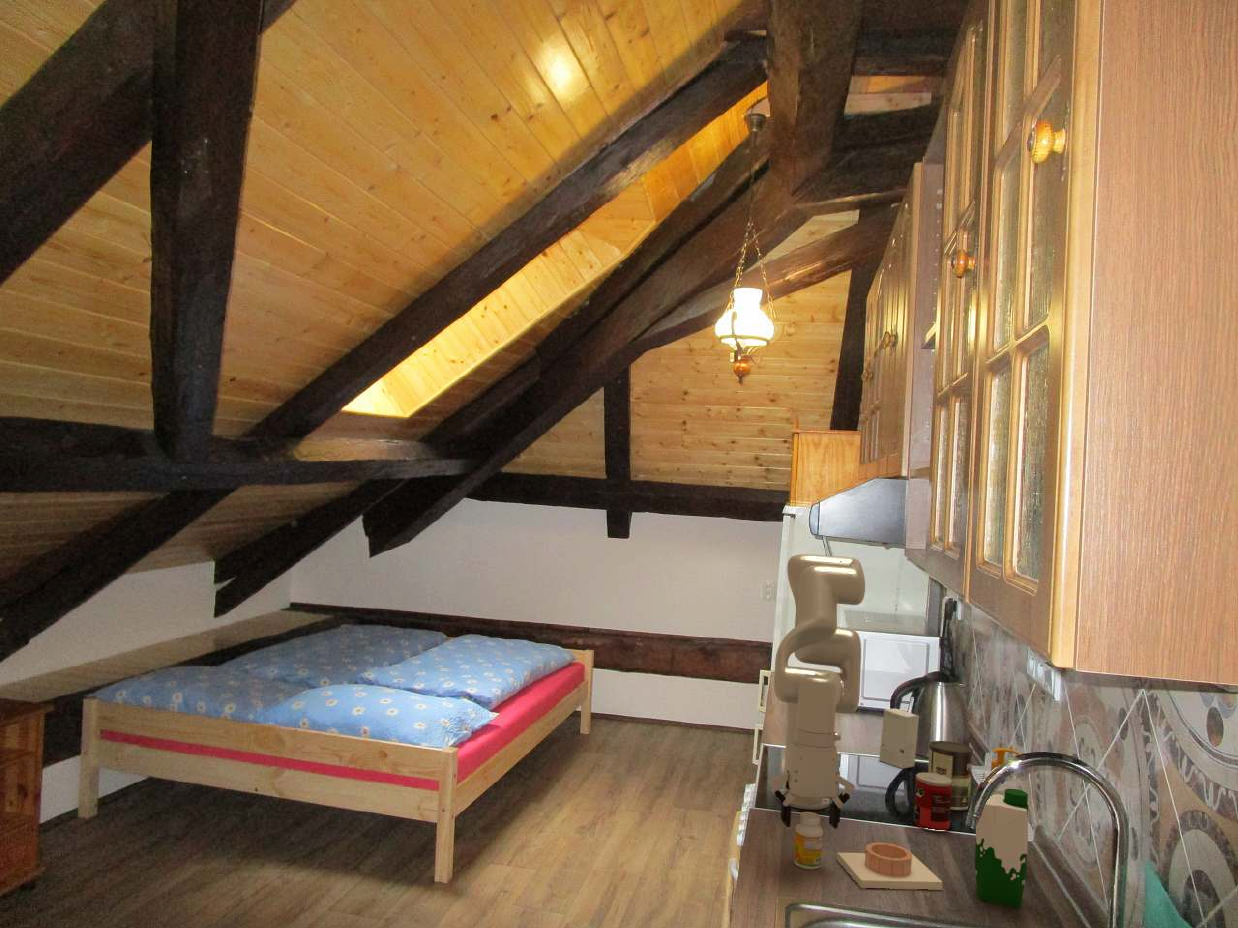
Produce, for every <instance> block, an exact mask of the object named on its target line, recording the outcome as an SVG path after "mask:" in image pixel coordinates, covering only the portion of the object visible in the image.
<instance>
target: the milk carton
mask: <svg viewBox="0 0 1238 928" xmlns="http://www.w3.org/2000/svg"><path fill="white" fill-rule="evenodd" d="M1028 798H1029V794H1028V793H1027V792H1026V791H1023V790H1020V789H1018V788H1017V789H1005V794H1004V796H1003V795H1000V794H996V795H994V794H993V795H992V796H990V798H989V799H988V800H987V802H986V804H985V806H984V809H983V812H982V815H981V817H980V819H979V821H978V823H977V822H976V823H977V825H976V824H975V825H976V826H975V842H974V843H975V844H974V845H975V846H974V873H975V874H974V875H975V881H976V888H977V896H978V900H979V901H984V902H988V903H993V904H997V905H1001V906H1006V907H1011V908H1015V909H1016V908H1017V909H1021V905H1022V900H1023V896H1024V892H1025V891H1024V890H1025V884H1026V878H1027V870H1028V869H1027V868H1028V849H1029V848H1028V847H1029V824H1028V823H1029V822H1028V821H1029V819H1028V818H1029V815H1028V814H1029V804H1028V800H1029V799H1028Z"/></svg>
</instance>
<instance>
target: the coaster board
mask: <svg viewBox="0 0 1238 928" xmlns="http://www.w3.org/2000/svg"><path fill="white" fill-rule="evenodd" d="M865 853H866V852H836V861H837V863H838V864H839V865H840V866H841V867H842V866H843V867H844V868H845V869H846V870H847V871H846V870H845V869H844V868H843V867H842V868H843V869H844V870H845V871H846V872H847V874H848V873H849V874H850V875H851V876H852V877H851V876H850V875H849V874H848V875H849V876H850V877H851V878H852V880H853V881H854V880H855V881H856V882H857V883H858V884H857V883H856V882H855V881H854V882H855V883H856V884H857V885H858V886H859V885H860V886H861V887H878V888H879V887H880V888H885V889H884V890H917V889H928V891H929V890H930V891H934V890H935V891H942V890H943V881H942V880H941V879H940V878H938V876H937V875H936V874H935V873H934V872H932V871H931V870H930V869H929V868H928V867H927V866H926V865H925V864H924V863H923V862H921V861H920V860H919V858H917V857H916V856H915V855H914V854H913V853H912V870H911V873H910V874H909V875H905V876H889V875H885V874H880V873H878V872H875V871H873V870H871V869H869V868H868V867H867V866H866V865H865ZM860 886H859V887H860ZM886 888H887V889H886ZM888 888H889V889H888ZM913 888H914V889H913Z"/></svg>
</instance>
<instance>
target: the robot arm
mask: <svg viewBox="0 0 1238 928" xmlns="http://www.w3.org/2000/svg"><path fill="white" fill-rule="evenodd" d="M786 567H787V569H786V570H787V571H786V572H787V579H788V583H789V587H790V591H791V592H792V595H793V598H794V604H795V619H794V621H795V622H794V628H793V629H791V631H789V632H788V633H787V635H785V637H784V638H783V639H782V640H781V642H780V644H779V646H778V648H777V651H776V655H775V659H774V660H775V661H774V678H773V688H774V689H773V690H774V691H773V692H774V693H775V694H774V695H775V696H776V698H777V699H778V700H779V701H780V702H783V703H786V714H787V716H786V736H785V755H784V756H785V757H784V772H783V773H782V774H779V775H777V776H775V777H774V778H771V779H769V783H768V784H769V785H770V788H771V791H772V793H773V795H774V796H775V798H776V799H777V800H778V802H780V804H781V805H780V821H782V823H783V825H784V826H785V827H786V828H789V827H791V822H792V808H795V809H801V810H807V811H808V810H810V811H812V810H813V811H815V810H823V809H827V808H828V807H829V814H828V824H829V825H830V826H831V827H832V828H833V829H836V830H837V829H838V827H839V826H838V825H839V823H841V809H842V808H843V807H844V805H845V803H847V802H848V801H849V800H850V798H851V795H852V794H853V792H854V790H855V788H856V786H855V785H854V784H853V783H852V782H850V781H849V780H847V779H846V778H844V777H842V776H841V775H840V768H839V764H840V763H839V757H838V749H837V747H836V741H841V740H842V739H841V738H842V737H841V733H837V732H836V731H835V728H836V727H835V725H836V723H835V722H836V714H844V715H845V714H849V715H850V714H853V713H855V712H856V711H857V709H858V707H859V703H860V693H861V692H860V691H861V669H862V667H861V666H862V665H861V664H862V642H861V641H862V640H861V639H860V635H859V633H858V632H857V631H856V630H855V629H854V628H853V629H852V628H849V627H839V626H838V605H845V606H846V605H847V606H859V605H860V604H861V603H862V602H863V600H864V598H865V592H866V578H865V574H864V570H863V567H862V563H861V562H860V560H859V559H857V558H854V557H848V556H847V557H846V556H834V555H823V554H809V553H804V554H801V553H800V554H796V555H793V556H791V557H790V558H789V559H788V561H787V566H786ZM793 653H794V656H795V659H797V661H799V662H800V663H802V664H807V665H816V666H825V667H833V668H834V667H835V668H839V669H840V671H841V672H838V671H837V672H836V671H832V670H829V669H828V670H827V669H818V668H817V669H816V668H810V667H801V666H799V667H798V666H790V665H789V659H790V657H791V656H792V655H793ZM782 784H783V788H781V789H780V785H782ZM840 785H841V786H843V787H844V788H843V791H842V792H841V793H840V794H839V792H840V791H839V790H840ZM830 800H831V802H830Z"/></svg>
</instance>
